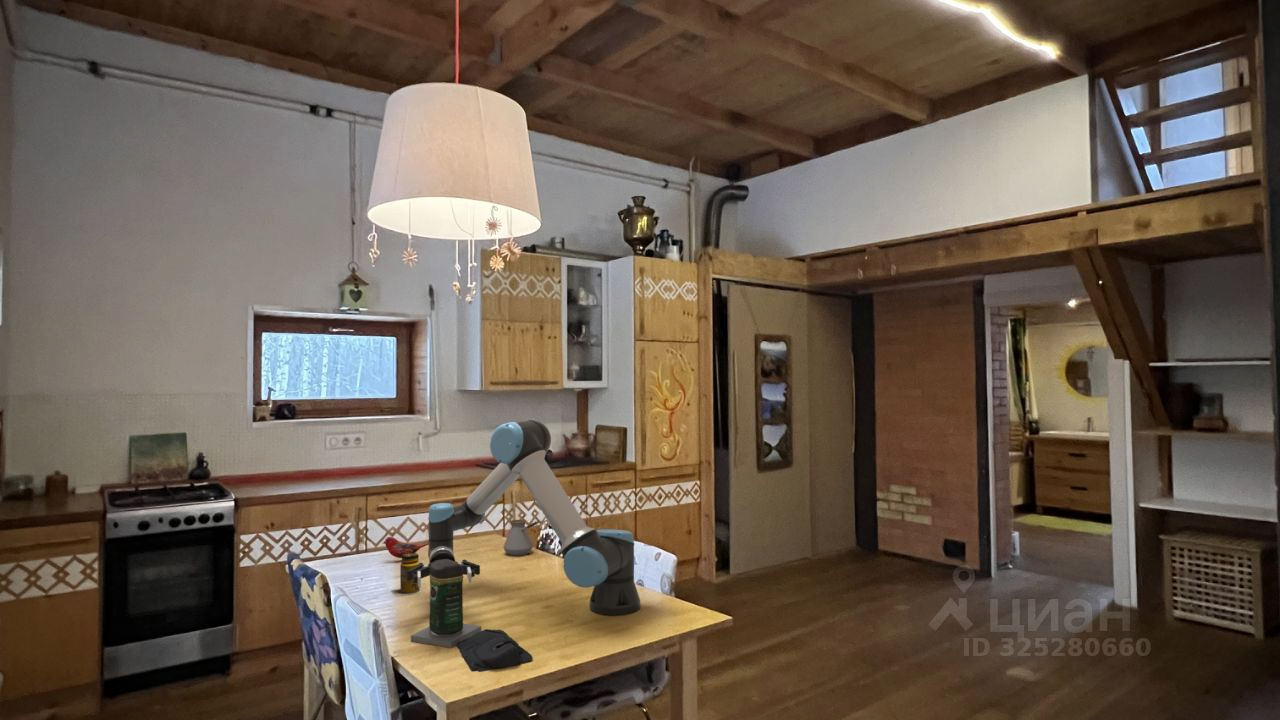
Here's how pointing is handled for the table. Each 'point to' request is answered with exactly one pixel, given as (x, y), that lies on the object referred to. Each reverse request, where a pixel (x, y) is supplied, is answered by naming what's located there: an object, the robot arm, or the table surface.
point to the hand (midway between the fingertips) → (444, 579)
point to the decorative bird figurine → (400, 547)
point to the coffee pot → (518, 539)
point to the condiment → (406, 586)
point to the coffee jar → (446, 597)
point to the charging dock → (445, 636)
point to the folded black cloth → (492, 651)
